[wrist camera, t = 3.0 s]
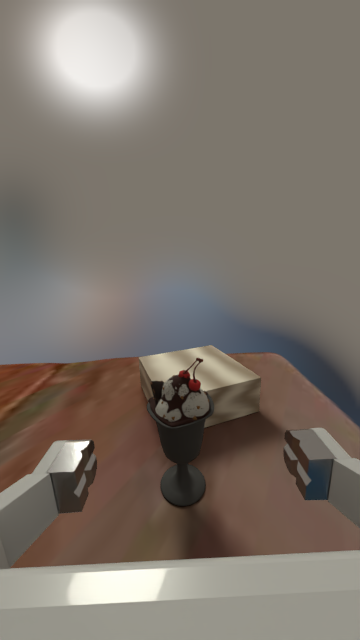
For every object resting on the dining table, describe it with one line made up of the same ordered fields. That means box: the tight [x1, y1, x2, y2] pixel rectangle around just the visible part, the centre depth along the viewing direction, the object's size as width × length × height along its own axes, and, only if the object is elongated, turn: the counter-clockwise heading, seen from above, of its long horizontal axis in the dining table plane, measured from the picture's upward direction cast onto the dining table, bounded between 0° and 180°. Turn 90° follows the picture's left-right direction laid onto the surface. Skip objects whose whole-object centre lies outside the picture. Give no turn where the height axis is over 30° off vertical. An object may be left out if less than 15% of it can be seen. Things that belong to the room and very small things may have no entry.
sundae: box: [147, 358, 214, 506], centre depth 24 cm, size 7×7×15 cm
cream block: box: [139, 345, 261, 428], centre depth 41 cm, size 16×16×6 cm
